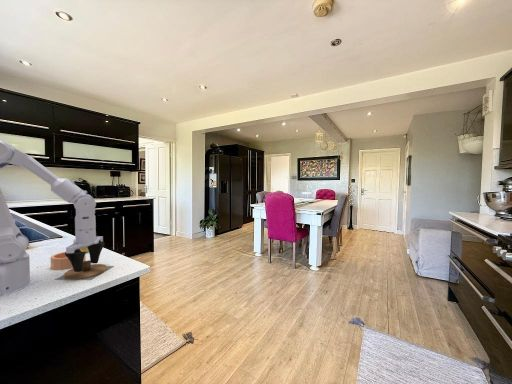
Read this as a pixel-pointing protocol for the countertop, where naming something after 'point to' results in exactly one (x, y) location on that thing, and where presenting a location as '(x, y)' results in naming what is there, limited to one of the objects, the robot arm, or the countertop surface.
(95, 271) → the lid
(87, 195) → the robot arm
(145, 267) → the countertop surface
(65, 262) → the bowl
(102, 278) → the countertop surface
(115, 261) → the countertop surface
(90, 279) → the mat
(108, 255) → the countertop surface
